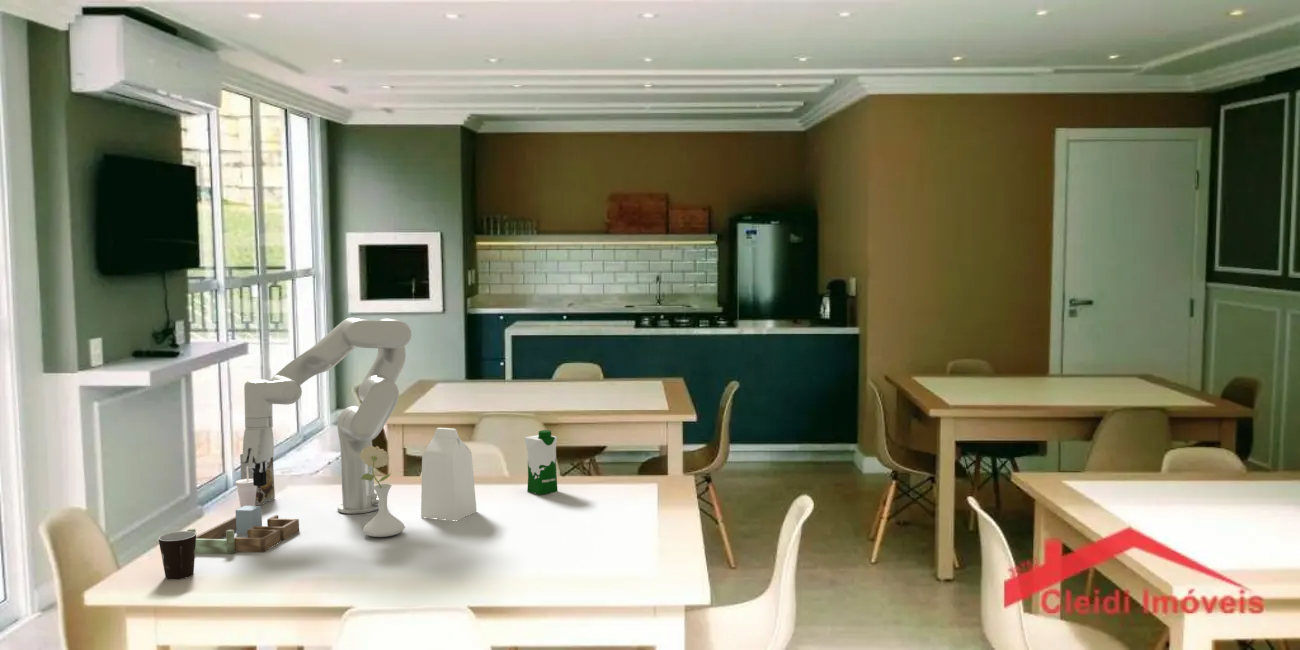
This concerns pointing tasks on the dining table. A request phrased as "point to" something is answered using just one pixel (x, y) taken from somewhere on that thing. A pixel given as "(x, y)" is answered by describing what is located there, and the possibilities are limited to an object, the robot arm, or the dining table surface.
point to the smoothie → (246, 491)
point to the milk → (447, 477)
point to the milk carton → (542, 463)
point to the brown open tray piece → (256, 541)
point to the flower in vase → (380, 496)
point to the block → (248, 518)
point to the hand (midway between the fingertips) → (259, 485)
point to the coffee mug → (178, 554)
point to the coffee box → (264, 491)
